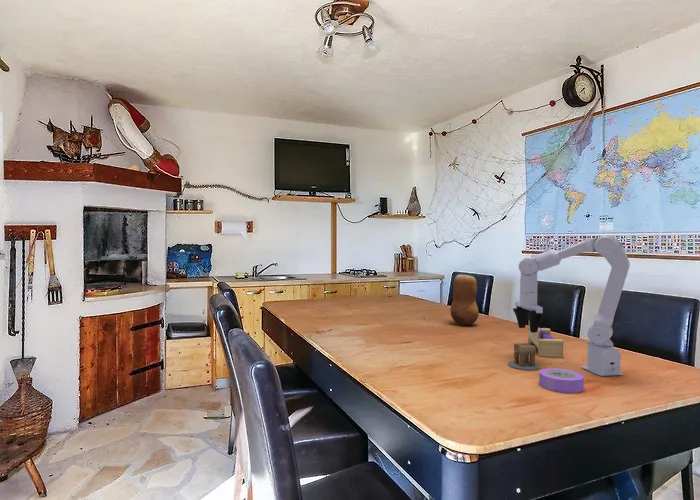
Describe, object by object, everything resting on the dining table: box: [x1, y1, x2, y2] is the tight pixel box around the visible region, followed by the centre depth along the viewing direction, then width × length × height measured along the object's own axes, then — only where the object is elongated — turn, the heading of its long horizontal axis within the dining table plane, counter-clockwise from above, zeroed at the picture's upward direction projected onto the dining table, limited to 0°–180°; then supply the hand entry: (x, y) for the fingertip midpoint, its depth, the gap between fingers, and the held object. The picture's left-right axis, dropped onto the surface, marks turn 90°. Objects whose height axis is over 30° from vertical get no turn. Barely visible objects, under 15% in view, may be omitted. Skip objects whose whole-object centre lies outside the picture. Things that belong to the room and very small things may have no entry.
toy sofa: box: [527, 322, 564, 359], centre depth 170 cm, size 21×9×10 cm, turn 169°
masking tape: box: [538, 367, 585, 394], centre depth 129 cm, size 12×12×4 cm
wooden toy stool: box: [513, 342, 537, 367], centre depth 148 cm, size 5×5×6 cm
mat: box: [507, 359, 541, 372], centre depth 149 cm, size 10×10×1 cm
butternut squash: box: [450, 274, 480, 327], centre depth 219 cm, size 14×13×25 cm
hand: (527, 330), depth 157 cm, fingers open, 7 cm apart
